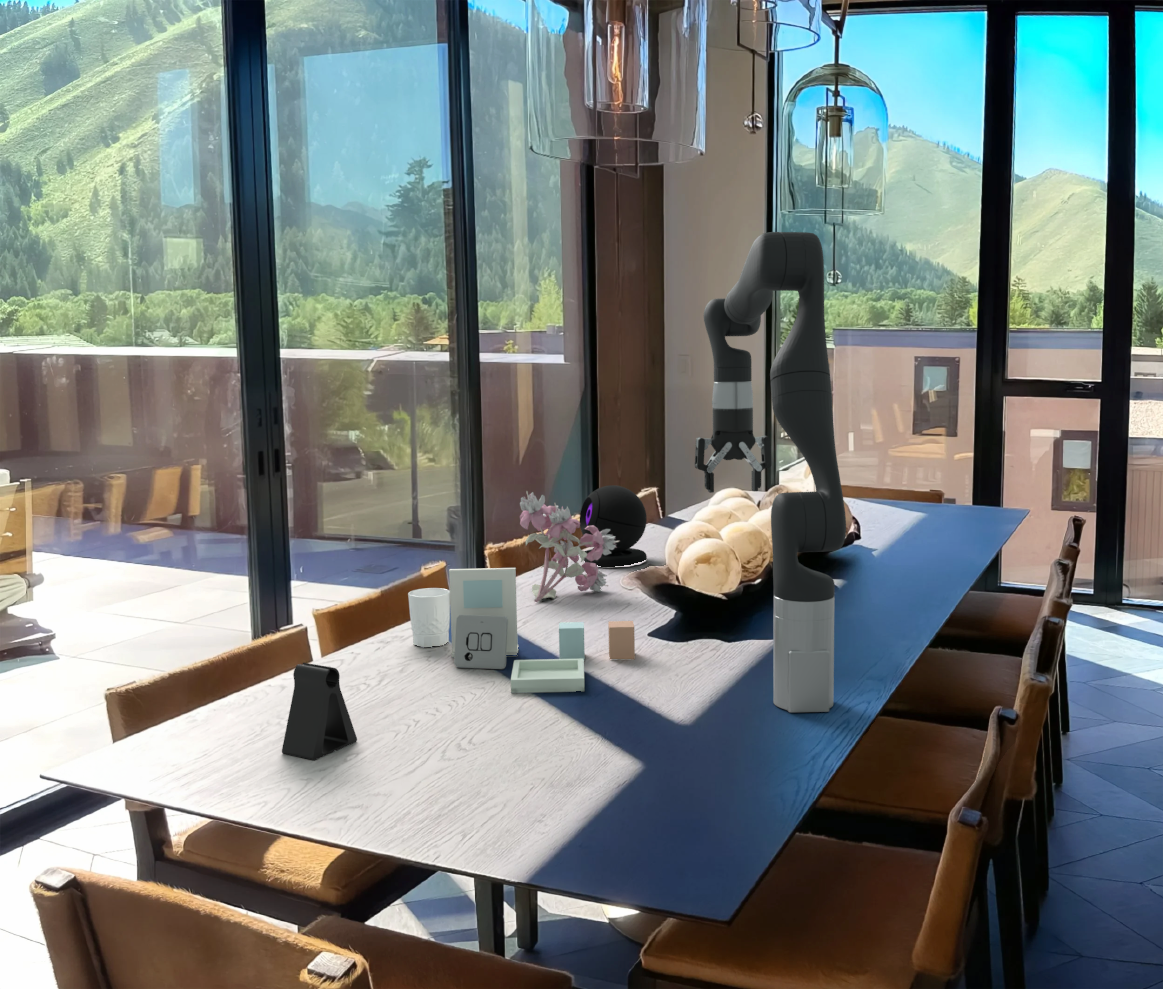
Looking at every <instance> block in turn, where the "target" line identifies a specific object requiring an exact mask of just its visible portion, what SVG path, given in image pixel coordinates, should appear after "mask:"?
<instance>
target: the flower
mask: <svg viewBox="0 0 1163 989" xmlns="http://www.w3.org/2000/svg"><path fill="white" fill-rule="evenodd" d="M525 492H526V495H527V499H526V496H522V497H520V502H519V507H520V509H521V511H522V512H521V513H520V515H519V520H520V522H519V525H520V526H521V527H522V528H523V529H525V530H527V531H528V530H529V526H530V522H531V524H532V526H533V527H534V529H536V530H537V531H539V532H540V533H537V532H533V533H531V534H529V535H528V536H527V538H526V539H525V546H527V545H528V543H532V542H534V541H536V542H537V543H538V544H540V546H539V548H538V550H539V549H541V548H544V549H545V552H544V553H545V556H544V561H543V562H544V563H543V565H542V566H541V568H543V573H542V579H541V583H540V584H537V583H534V584H532V586H531V592H532V594H533V596H535V599H534V600H533V601H534V603H535V602H537V603H539V602H541V600H542V599H547V598H548V599H552V600H553V599H556V596H557V590H556V589H554V588H556V587H557V586H558V584H560V583H561V581H563V580H565V578H574V577H575V578H574V581H575V582H576V584H577V590H578V591H579V592H585V591H588V590H591V591H594V592H595V593H600V592H602V591H603V588H602V587H604V586H605V587H609V584H607V583H608V582H607V578H604V577H608V575H607V574H605V573H603V572H602V571H599V568H598V567H597V565H596V564H595V563H588V562H585V563H584V558H587V559H588V560H589V561H593V560H598V559H599V558H600V557H601V555H602V553H603V554H604V555H608V554H611V552H610V551H609V549H610V550H613V549H614V548H617V547H616V545H617V544H616V545H613V544H615V543H617V542H619V541H615V540H614V538H615V537H616V536H613V535H610V534H608V535H606V534H607V533H608V532H609V531H610V529H605V530H602V531H601V532H599V530H598V528H596V527H595V526H594V525H592V526H587V527H586V528H585V529H586V530H589V531H590V532H591V533H592V534H593V535H591V534H586V533H585V534H584V535H583V534H582V535H581V537H580V538H579V537H577V536H575V535H573V534H574V533H575V532H576V529H579V528H580V520H579V519H577V518H576V519H575V518H572V515H571V510H570V508H569V507H568V505H566V508H565V509H564V506H563V505H562V506H561V508H559V507H560V506H559V505H557V504H556V502H554V503H553V504H554V505H548V506H547V505H546V504H545V502H546V496H545V495H544V494H541V496H540V498H539V499H538V498H537V496H536V495H535V493H534V491H532V492H531V493H529V491H528V490H526V491H525ZM545 530H547V532H546V533H544V531H545ZM609 539H611V540H609ZM615 539H616V538H615ZM563 540H564V541H563ZM559 542H560V543H559ZM573 542H577V543H578V545H577V546H574V544H573ZM582 546H583V547H586V548H592V550H591V549H590V550H591V552H589V553H588V554H587V553H586V552H585V551H586V550H582V549H581V547H582ZM550 548H553V552H554V553H555V554H554V555H553V557H551V560H550ZM569 559H570V560H571V561H573V564H570V565H569ZM579 560H580V563H582V562H583V564H582V565H581V564H579V562H578V561H579ZM549 569H550V570H551V569H552V570H554V573H553V574H552V575H551V576H550V579H549V580H548V581H547V577H548V576H547V575H548V571H549ZM564 569H565V570H564ZM584 573H585V574H584ZM558 575H559V576H560V578H559V579H558V580H557V581H556V582H555V583H554V581H555V580H556V578H557V577H558ZM546 581H547V582H546ZM553 583H554V584H553Z"/></svg>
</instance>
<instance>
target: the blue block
mask: <svg viewBox="0 0 1163 989" xmlns="http://www.w3.org/2000/svg"><path fill="white" fill-rule="evenodd" d="M558 644H559V646H558V647H559V648H558V650H559V659H582V658H583V659H585V660H586V658H585V656H586V655H585V622H584V621H572V622H571V621H569V622H567V621H564V622H563V621H562V622H558Z"/></svg>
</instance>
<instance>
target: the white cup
mask: <svg viewBox="0 0 1163 989" xmlns="http://www.w3.org/2000/svg"><path fill="white" fill-rule="evenodd" d="M407 596H408V608H409V618H410V625H411V628H410V630H411V632H412V640H413V646H415V645H417V646H421V647H420V648H424V647H431V648H433V647H432V646H440V645H443V644H446V643H447V642H449V641H450V640H449V639H450V637H449V633H450V632H449V631H450V624H451V608H450V589H446V588H440V587H427V588H418V589H413V590H411V591H409V592H408V593H407ZM447 644H448V643H447ZM447 644H446V645H447ZM417 646H416V647H417ZM443 646H444V645H443ZM440 647H441V646H440Z"/></svg>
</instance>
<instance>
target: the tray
mask: <svg viewBox="0 0 1163 989" xmlns="http://www.w3.org/2000/svg"><path fill="white" fill-rule="evenodd" d="M584 661H585V660H584V659H583V658H582V659H560V658H554V659H553V658H548V659H547V658H546V659H545V658H544V659H543V658H541V659H540V658H539V659H537V658H536V659H514V660H513V664H512V670H511V675H510V693H511V694H523V693H524V694H525V693H527V694H529V693H534V694H535V693H569V692H570V693H574V692H576V691H581V692H585V664H584V663H585V662H584Z"/></svg>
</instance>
